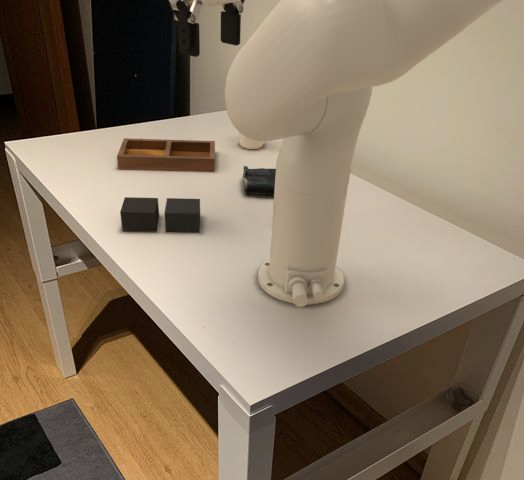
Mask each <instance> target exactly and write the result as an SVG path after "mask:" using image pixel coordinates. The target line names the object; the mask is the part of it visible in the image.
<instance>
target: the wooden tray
mask: <svg viewBox="0 0 524 480" xmlns="http://www.w3.org/2000/svg"><path fill="white" fill-rule="evenodd" d="M116 160H117V167H118V168H117V169H118V170H139V171H141V170H142V171H174V172H175V171H177V172H178V171H179V172H180V171H181V172H215V170H216V169H215V167H216V141H215V140H192V139H191V140H189V139H162V138H161V139H157V138H127V137H126V138H123V140H122V142H121V145H120V147H119V150H118V152H117V155H116Z"/></svg>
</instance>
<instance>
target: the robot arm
mask: <svg viewBox="0 0 524 480" xmlns="http://www.w3.org/2000/svg"><path fill="white" fill-rule="evenodd" d="M503 1H504V0H279V1H278V3H277V4H276V5H275V7H274V8H273V9H272V10H271V11H270V13H269V14H268V15H267V16H266V18H265V19H264V20H263V21H262V22H261V24H260V25H259V26H258V27H257V28H256V29H255V31H254V32H253V33H252V34H251V36H250V37H249V38H248V40H247V41H246V42H245V43H244V45H243V46H242V47H241V48H240V50H239V51H238V52H237V54H236V56H235V57H234V59H233V61H232V63H231V65H230V67H229V69H228V73H227V76H226V80H225V86H224V102H225V109H226V112H227V116H228V118H229V120H230V122H231V124H232V125H233V127H234V128H235V129H236V130H237V131H238V132H240V133H241V134H243V135H244V136H246V137H248V138H250V139H252V140H256V141H264V142H270V141H276V140H277V141H278V140H281V139H282V143H281V145H280V147H279V150H278V151H279V152H278V154H277V159H276V163H275V169H276V175H275V190H274V195H273V206H272V207H273V208H272V219H271V220H272V222H271V223H272V224H271V236H270V250H269V252H270V253H269V258H268V259H266V260H265V261H264V262H262V264H261V265H260V266H259V267H258V271H257V281H258V284H259V286H260V288H261V289H262V290H263V291H264V292H265V293H266V294H268V295H269V296H271V297H273V298H274V299H276V300H280V301H282V302H284V303H289V304H293V305H294V306H296V307H298V308H303V307H305V306H306V305H318V304H322V303H325V302H329V301H331V300H333V299H335V298H336V297H338V296H339V295H340V294H341V293H342V291H343V288H344V285H345V276H344V273H343V271H342V270H341V268H339V266H337V260H338V253H339V247H340V241H341V235H342V228H343V223H344V222H343V221H344V215H345V209H346V201H347V196H348V189H349V184H350V179H351V173H352V172H351V171H352V166H353V160H354V155H355V152H356V146H357V142H358V139H359V135H360V132H361V129H362V126H363V123H364V122H365V121H364V120H365V118H366V115H367V112H368V109H369V106H370V103H371V99H372V93H373V88H375V87H379V86H382V85H383V86H384V85H386V84H389V83H393V82H395V81H397V80H398V79H400V78H401V77H402V76H404V75H405V74H407V73H408V72H409V71H411V70H413V68H414V67H416V66H417V65H418V64H420V63H421V62H422V61H424V60H425V59H427V58H428V57H429V56H430V55H432V54H434V52H436V51H437V50H439V49H440V48H441V47H443V46H444V45H445V44H447V43H448V42H449V41H451V40H452V39H453V38H455V37H456V36H458V35H459V34H461V32H463V31H464V30H465V29H467V28H468V27H469V26H470V25H472V24H473V23H474V22H475V21H477V20H478V19H479V18H481V17H482V16H483V15H484V14H486V13H488V12H489V11H490V10H492V9H493V8H494V7H496V6H497V5H499V4H500V3H501V2H503ZM168 2H169V3H168V4H169V9H170V10H171V12H172V13H173V18H174V20H175V21H176V22H177V32H178V33H177V35H178V36H177V38H178V51H179V54H180V55H185V56H190V57H194V58H197V57H199V56H200V53H201V47H200V46H201V45H200V41H201V39H200V23H198V22H197V20H198V17H199V14H200V11H201V9H202V7H203V6H206V7H214V6H220V5H221V6H222V9H223V10H221V11H220V42H221V43H222V44H227V45H231V46H240V44H241V29H242V28H241V24H242V14H243V12H244V3H245V2H246V0H168ZM188 6H191V7H190V9H189V7H188Z"/></svg>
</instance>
